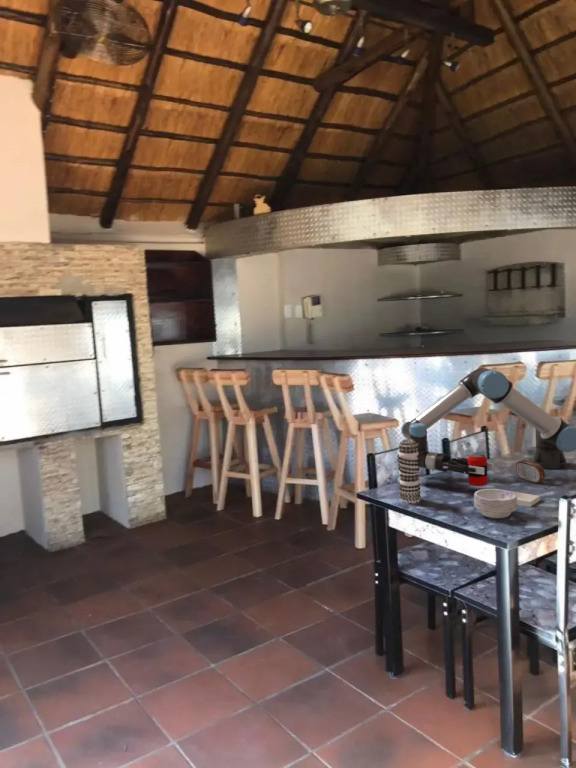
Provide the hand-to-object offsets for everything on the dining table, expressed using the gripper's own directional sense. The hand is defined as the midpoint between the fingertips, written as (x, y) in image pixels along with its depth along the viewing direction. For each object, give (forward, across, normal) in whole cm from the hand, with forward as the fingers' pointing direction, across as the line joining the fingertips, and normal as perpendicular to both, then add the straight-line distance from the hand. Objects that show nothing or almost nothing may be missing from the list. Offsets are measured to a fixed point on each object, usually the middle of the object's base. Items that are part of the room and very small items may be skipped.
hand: (488, 468), depth 249 cm
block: (+6, 0, -10) cm, 12 cm away
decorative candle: (-23, +22, -11) cm, 34 cm away
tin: (+5, -28, -11) cm, 31 cm away
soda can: (-5, 0, -7) cm, 9 cm away
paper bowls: (+12, +20, -11) cm, 26 cm away
